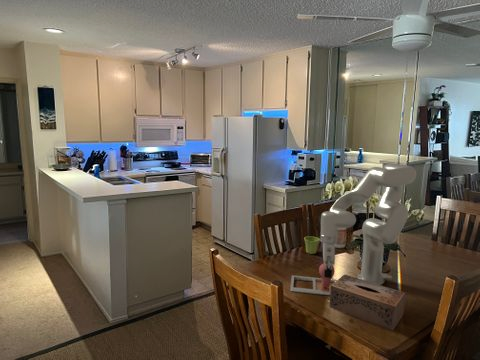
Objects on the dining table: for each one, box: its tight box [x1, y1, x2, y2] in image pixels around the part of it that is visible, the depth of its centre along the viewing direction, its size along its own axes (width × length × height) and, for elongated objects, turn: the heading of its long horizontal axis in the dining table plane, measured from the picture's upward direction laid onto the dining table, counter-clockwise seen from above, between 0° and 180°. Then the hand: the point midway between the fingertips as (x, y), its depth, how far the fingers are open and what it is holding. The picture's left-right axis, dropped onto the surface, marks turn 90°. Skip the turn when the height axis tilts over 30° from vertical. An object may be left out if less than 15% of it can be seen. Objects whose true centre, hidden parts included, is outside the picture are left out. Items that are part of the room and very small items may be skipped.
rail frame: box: [290, 275, 338, 296], centre depth 163 cm, size 22×14×2 cm, turn 79°
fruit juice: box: [335, 228, 348, 249], centre depth 218 cm, size 9×9×28 cm
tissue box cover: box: [329, 274, 406, 331], centre depth 142 cm, size 26×14×10 cm, turn 51°
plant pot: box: [303, 236, 321, 255], centre depth 208 cm, size 9×9×9 cm
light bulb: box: [318, 262, 336, 287], centre depth 162 cm, size 7×7×12 cm
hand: (327, 272), depth 162 cm, fingers open, 9 cm apart
